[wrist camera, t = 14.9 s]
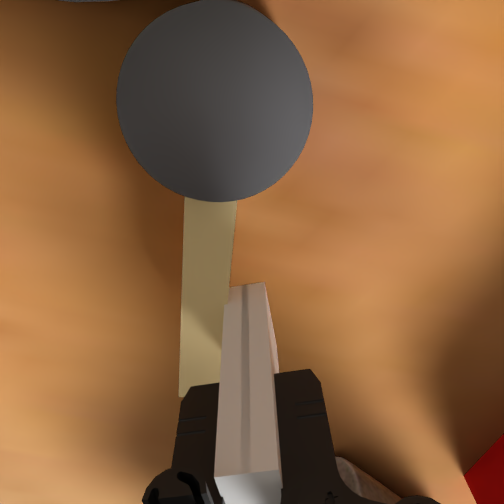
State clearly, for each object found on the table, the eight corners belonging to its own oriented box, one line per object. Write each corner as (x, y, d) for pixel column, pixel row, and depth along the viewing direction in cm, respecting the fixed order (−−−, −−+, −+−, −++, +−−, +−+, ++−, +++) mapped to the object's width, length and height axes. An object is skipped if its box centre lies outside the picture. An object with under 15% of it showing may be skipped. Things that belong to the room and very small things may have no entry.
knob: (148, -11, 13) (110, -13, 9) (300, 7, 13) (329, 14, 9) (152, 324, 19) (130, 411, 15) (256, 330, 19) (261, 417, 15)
